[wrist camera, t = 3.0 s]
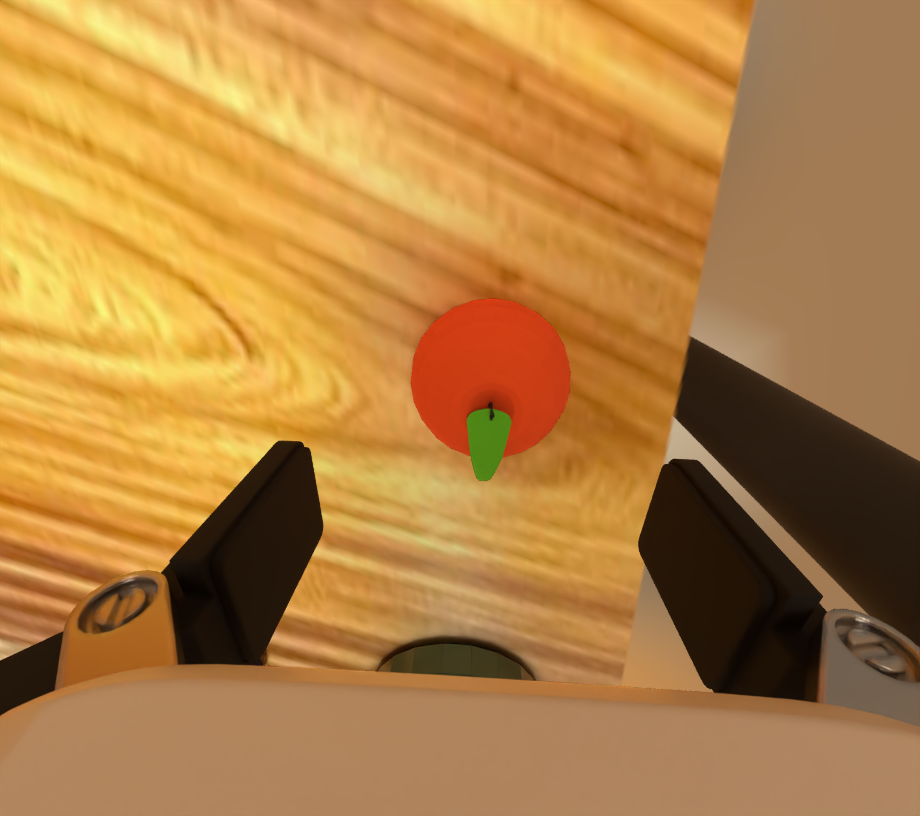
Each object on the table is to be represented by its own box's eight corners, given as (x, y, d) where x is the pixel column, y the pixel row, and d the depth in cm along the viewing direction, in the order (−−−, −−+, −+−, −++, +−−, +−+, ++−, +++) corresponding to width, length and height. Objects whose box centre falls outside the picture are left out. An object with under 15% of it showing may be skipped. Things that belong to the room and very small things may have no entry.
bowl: (547, 642, 30) (558, 716, 26) (528, 736, 36) (534, 808, 32) (369, 630, 30) (350, 700, 26) (380, 724, 37) (366, 794, 32)
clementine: (543, 433, 22) (568, 521, 15) (423, 426, 22) (399, 510, 16) (565, 289, 18) (610, 325, 12) (421, 283, 18) (390, 315, 12)
